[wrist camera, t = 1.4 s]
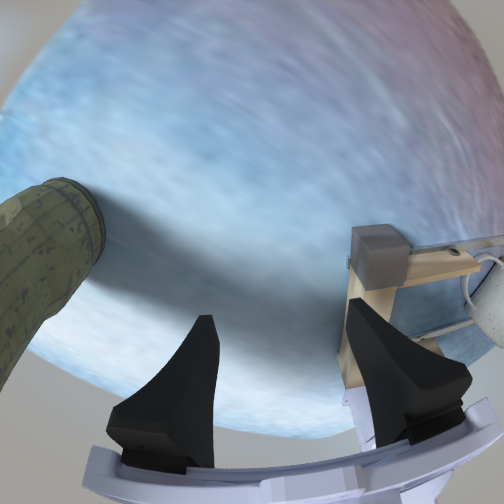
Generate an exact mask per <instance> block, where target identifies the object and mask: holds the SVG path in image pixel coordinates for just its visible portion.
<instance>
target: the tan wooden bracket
mask: <svg viewBox="0 0 504 504" xmlns="http://www.w3.org/2000/svg"><path fill="white" fill-rule="evenodd" d="M409 253H410V245H409V244H408V243H407V242H406V241H405V240H404V239H403V238H402V237H401V236H400V235H399V234H398V233H397V232H396V231H395V230H394V229H393V228H392V227H391V226H390V225H389V224H381V225H370V226H359V227H352V241H351V257H350V271H349V282H348V293H347V302H346V311H345V319H344V327H343V334H342V341H341V347H340V353H339V360H338V364H339V368H340V371H341V375H342V378H343V382H344V385H345V389H346V390H347V389H352V388H356V387H361V386H365V384H364V381H363V378H362V375H361V373H360V370H359V368H358V365H357V363H356V360H355V358H354V355H353V352H352V350H351V347H350V344H349V341H348V337H347V333H346V329H345V328H346V321H347V313H348V305H349V299H353V298H359V297H361V298H362V299H363V300H364V301H365V302H366V303H367V304H368V305H369V306H370V307H372V308H373V309H374V310H375V311H376V312H377V313H378V314H379V315H380V316H381V317H382V318H384V319H385V320H386V321H387V322H388V323H389V320H390V316H391V312H392V308H393V303H394V299H395V295H396V290H397V289H400V288H405V287H410V286H415V285H420V284H425V283H430V282H435V281H440V280H444V279H449V278H453V277H458V276H462V275H467V274H471V273H475V272H479V271H480V269H481V265H480V264H479V263H478V262H477V261H476V260H475V259H474V258H473V257H472V256H471V255H469V254H468V253H467V252H466V251H465V250H464V249H463V248H458V249H452V248H451V249H448V250H445V251H439V252H432V253H426V254H419V255H412V256H409ZM416 343H417V344H419V345H421V346H422V347H424V348H426V349H428V350H430V351H432V352H434V353H436V354H438V355H441V356H443V357H444V354H443V352H442V351H441V349H440V347H439V346H438V344H437V342H436V341H435V339H434V337H430V338H427V339H426V338H422V339H421V340H420V341H417V342H416Z"/></svg>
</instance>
